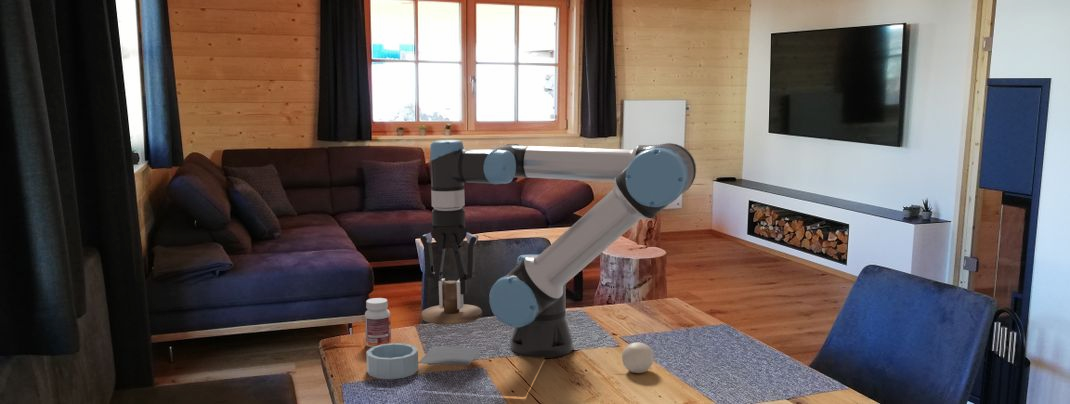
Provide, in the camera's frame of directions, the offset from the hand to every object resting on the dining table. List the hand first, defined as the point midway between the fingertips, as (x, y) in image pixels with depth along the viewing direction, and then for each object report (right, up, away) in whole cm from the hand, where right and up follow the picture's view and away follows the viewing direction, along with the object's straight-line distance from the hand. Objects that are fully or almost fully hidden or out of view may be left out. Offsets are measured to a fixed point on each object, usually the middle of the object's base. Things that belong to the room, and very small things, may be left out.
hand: (451, 307), depth 199 cm
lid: (0, -2, 0) cm, 2 cm away
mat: (0, -12, +2) cm, 12 cm away
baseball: (+43, -14, -7) cm, 45 cm away
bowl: (-12, -14, -8) cm, 20 cm away
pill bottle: (-19, -11, +11) cm, 25 cm away
